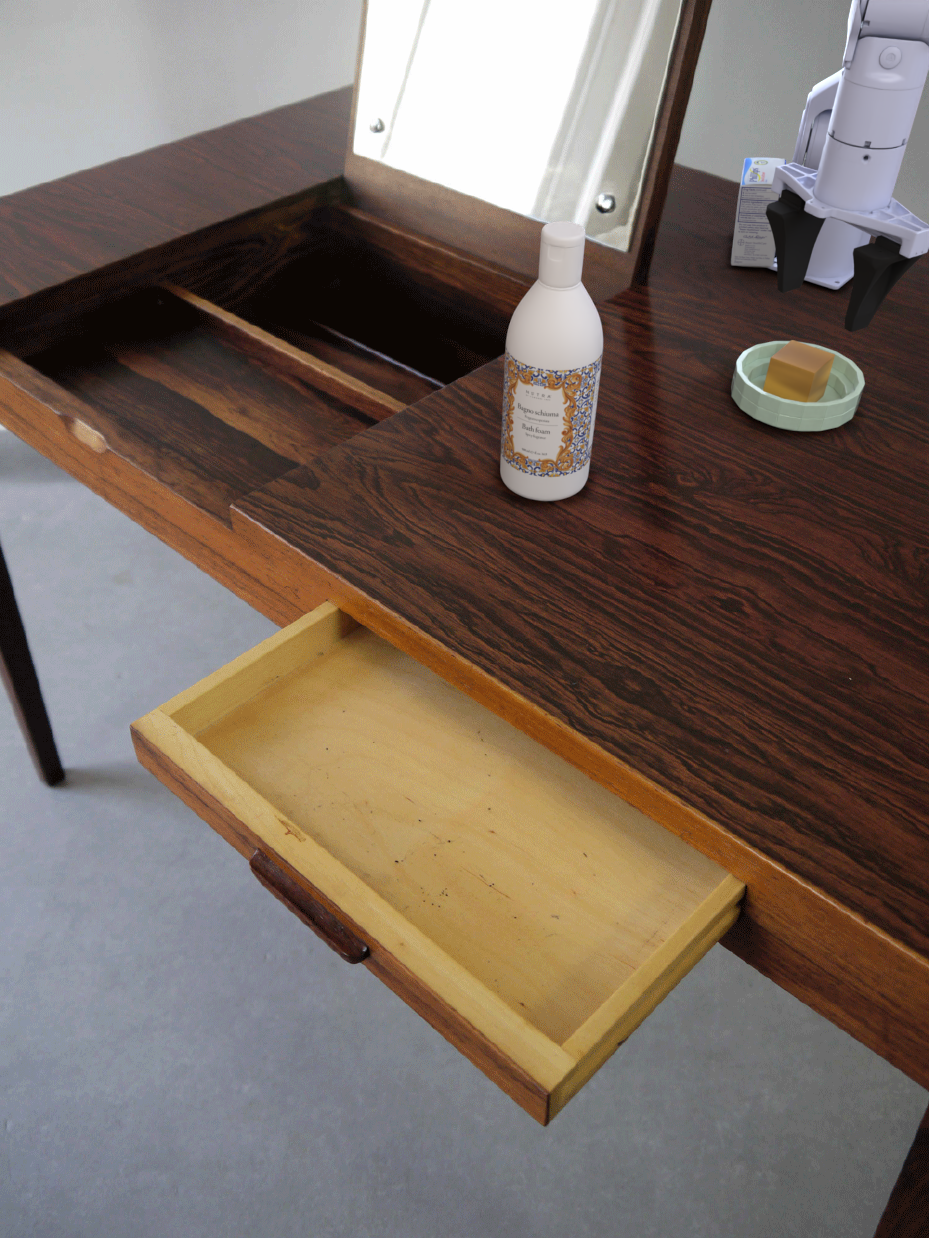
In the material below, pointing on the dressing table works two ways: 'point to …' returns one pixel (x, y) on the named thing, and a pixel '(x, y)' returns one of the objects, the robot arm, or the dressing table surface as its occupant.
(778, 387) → the block
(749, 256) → the medicine box
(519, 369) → the bath foam
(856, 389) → the bowl
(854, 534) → the dressing table surface
